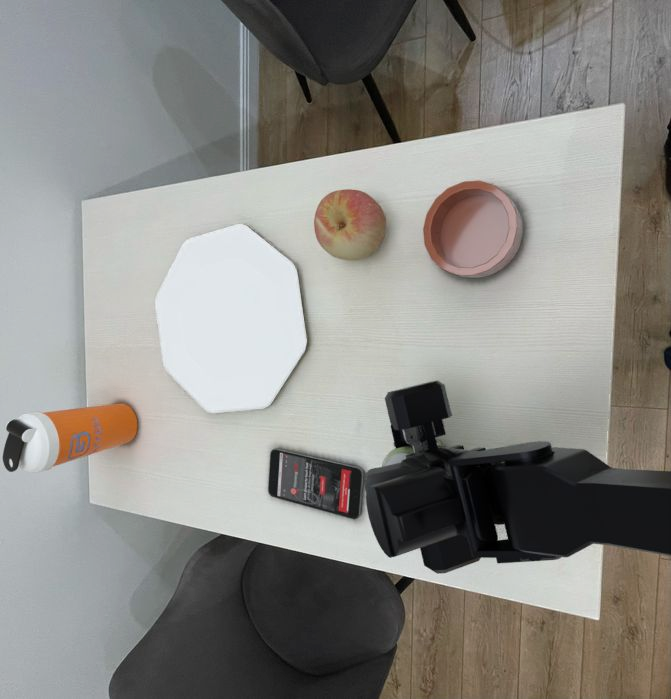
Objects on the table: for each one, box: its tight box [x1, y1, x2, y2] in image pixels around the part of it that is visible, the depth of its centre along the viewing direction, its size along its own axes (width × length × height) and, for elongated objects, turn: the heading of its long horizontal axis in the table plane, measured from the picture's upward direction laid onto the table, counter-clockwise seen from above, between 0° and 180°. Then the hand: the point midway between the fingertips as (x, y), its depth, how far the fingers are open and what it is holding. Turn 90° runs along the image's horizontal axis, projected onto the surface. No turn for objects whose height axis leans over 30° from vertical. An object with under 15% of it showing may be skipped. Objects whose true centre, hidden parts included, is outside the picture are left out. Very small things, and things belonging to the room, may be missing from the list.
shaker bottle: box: [2, 402, 139, 474], centre depth 86 cm, size 9×9×20 cm
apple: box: [313, 188, 387, 262], centre depth 68 cm, size 9×9×8 cm
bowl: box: [422, 180, 524, 279], centre depth 63 cm, size 11×11×4 cm
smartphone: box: [267, 447, 365, 520], centre depth 77 cm, size 7×1×15 cm
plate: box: [154, 223, 309, 414], centre depth 82 cm, size 28×28×2 cm
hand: (402, 467), depth 64 cm, fingers closed on beverage can, 5 cm apart
